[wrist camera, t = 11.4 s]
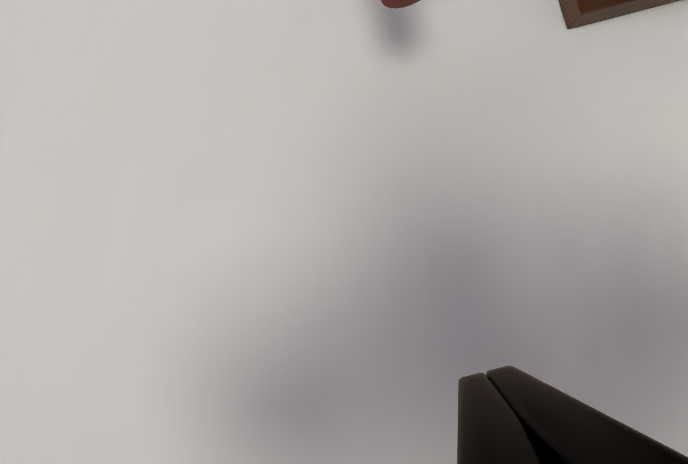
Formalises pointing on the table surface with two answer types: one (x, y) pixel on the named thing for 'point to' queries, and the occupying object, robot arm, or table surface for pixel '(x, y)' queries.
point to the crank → (398, 3)
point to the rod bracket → (602, 9)
